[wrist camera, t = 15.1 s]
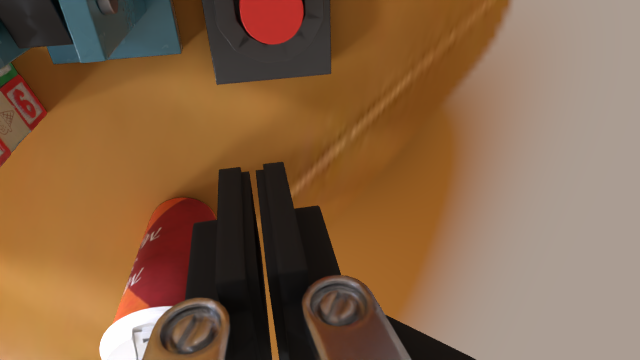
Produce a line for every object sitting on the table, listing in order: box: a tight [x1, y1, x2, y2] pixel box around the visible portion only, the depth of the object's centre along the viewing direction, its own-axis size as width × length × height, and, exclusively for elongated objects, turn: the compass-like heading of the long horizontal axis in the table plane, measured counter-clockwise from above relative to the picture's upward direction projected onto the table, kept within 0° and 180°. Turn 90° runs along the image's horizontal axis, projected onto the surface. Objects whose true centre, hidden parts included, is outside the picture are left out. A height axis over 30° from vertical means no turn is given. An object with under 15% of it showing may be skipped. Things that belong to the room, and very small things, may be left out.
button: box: [239, 0, 304, 44], centre depth 24 cm, size 4×4×2 cm
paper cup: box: [100, 198, 216, 360], centre depth 31 cm, size 8×8×14 cm
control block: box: [202, 0, 331, 85], centre depth 26 cm, size 10×8×4 cm
